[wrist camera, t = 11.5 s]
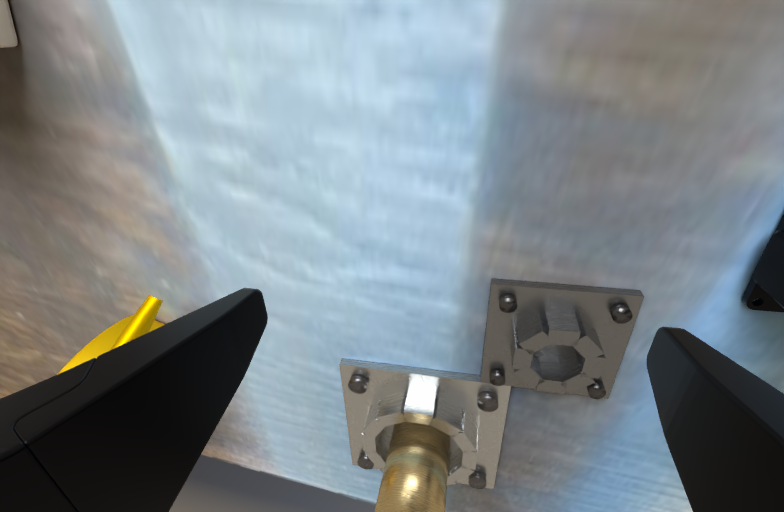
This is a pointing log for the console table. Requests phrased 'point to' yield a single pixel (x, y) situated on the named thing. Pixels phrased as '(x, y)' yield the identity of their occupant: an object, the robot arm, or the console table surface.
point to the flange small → (557, 336)
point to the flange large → (425, 415)
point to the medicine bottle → (6, 26)
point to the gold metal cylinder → (415, 470)
